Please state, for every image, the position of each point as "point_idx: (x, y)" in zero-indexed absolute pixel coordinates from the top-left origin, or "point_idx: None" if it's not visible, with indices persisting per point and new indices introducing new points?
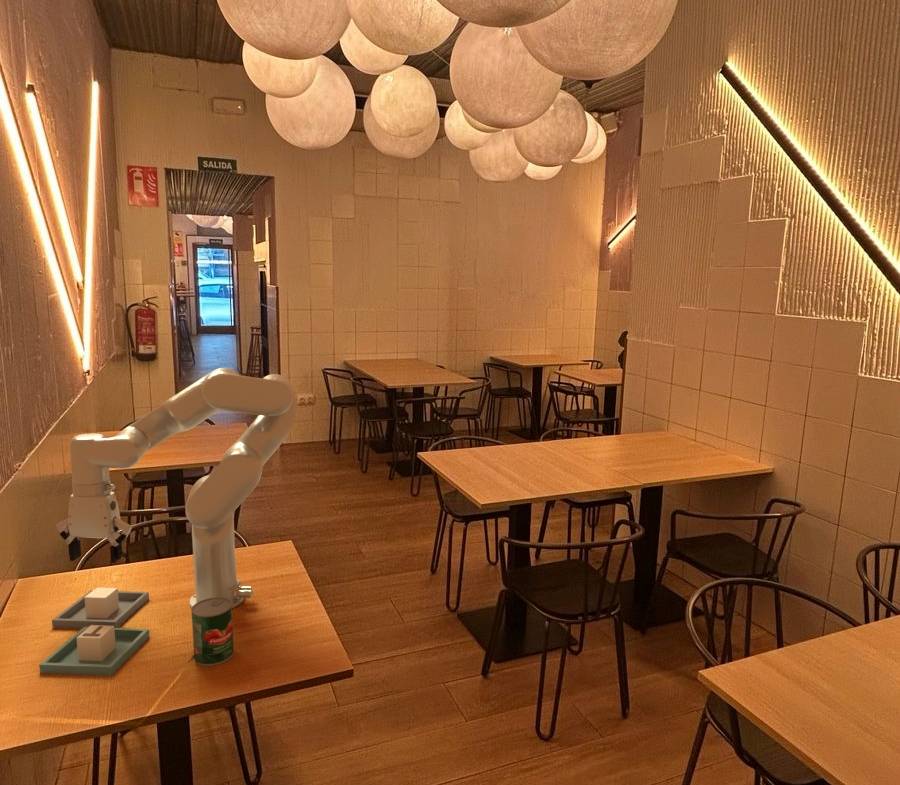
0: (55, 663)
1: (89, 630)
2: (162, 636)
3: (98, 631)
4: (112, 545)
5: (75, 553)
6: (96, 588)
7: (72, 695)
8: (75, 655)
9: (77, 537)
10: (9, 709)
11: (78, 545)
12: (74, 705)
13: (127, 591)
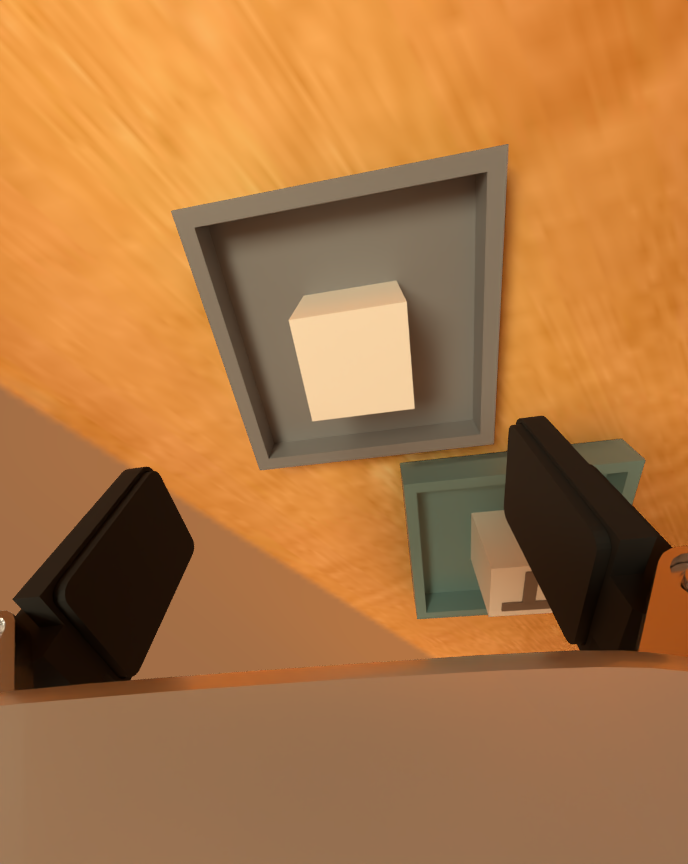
0: (452, 612)
1: (505, 589)
2: (663, 416)
3: (538, 589)
4: (591, 636)
5: (164, 562)
6: (295, 332)
7: (526, 623)
8: (448, 546)
9: (28, 671)
10: (433, 655)
11: (110, 578)
12: (547, 639)
13: (378, 171)
